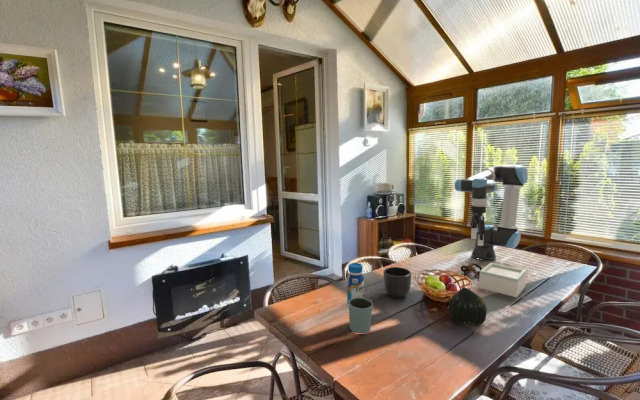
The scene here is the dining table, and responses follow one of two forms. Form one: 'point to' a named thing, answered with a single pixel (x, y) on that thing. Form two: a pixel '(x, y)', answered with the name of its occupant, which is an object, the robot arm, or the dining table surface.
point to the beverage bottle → (355, 282)
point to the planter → (397, 281)
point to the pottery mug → (471, 269)
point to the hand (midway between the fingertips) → (476, 242)
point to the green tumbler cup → (360, 314)
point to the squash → (467, 307)
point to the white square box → (502, 279)
